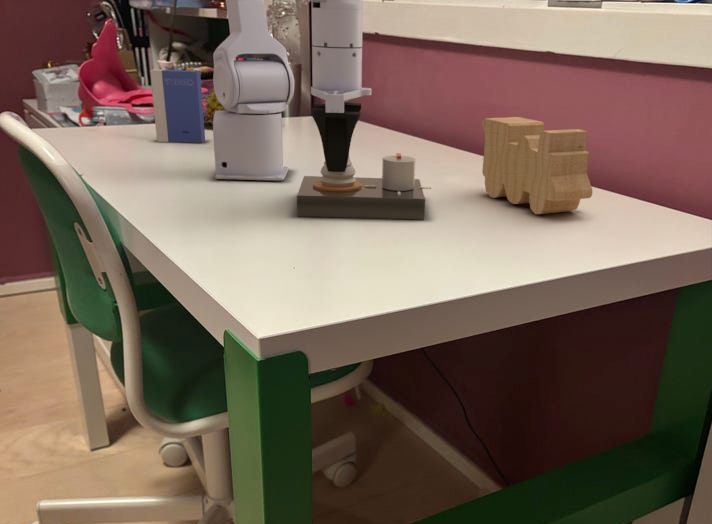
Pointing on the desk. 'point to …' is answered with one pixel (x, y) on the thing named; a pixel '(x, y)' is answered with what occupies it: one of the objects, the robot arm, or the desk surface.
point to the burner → (321, 186)
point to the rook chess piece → (338, 176)
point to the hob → (361, 201)
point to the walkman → (178, 105)
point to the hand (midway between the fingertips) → (337, 167)
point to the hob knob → (398, 172)
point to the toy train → (535, 164)
